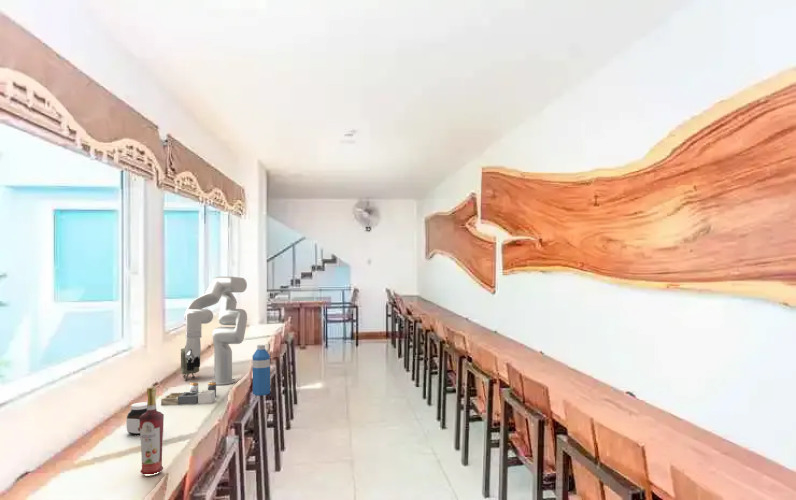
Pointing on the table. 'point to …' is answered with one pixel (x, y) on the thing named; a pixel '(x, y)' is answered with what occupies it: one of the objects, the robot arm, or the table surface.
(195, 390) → the cylinder
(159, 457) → the liquor
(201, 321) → the robot arm
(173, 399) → the trough
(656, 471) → the table surface
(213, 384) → the black cell
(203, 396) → the cup
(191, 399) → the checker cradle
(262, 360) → the water bottle
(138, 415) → the spread jar
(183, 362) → the olive tall ribbed piece
